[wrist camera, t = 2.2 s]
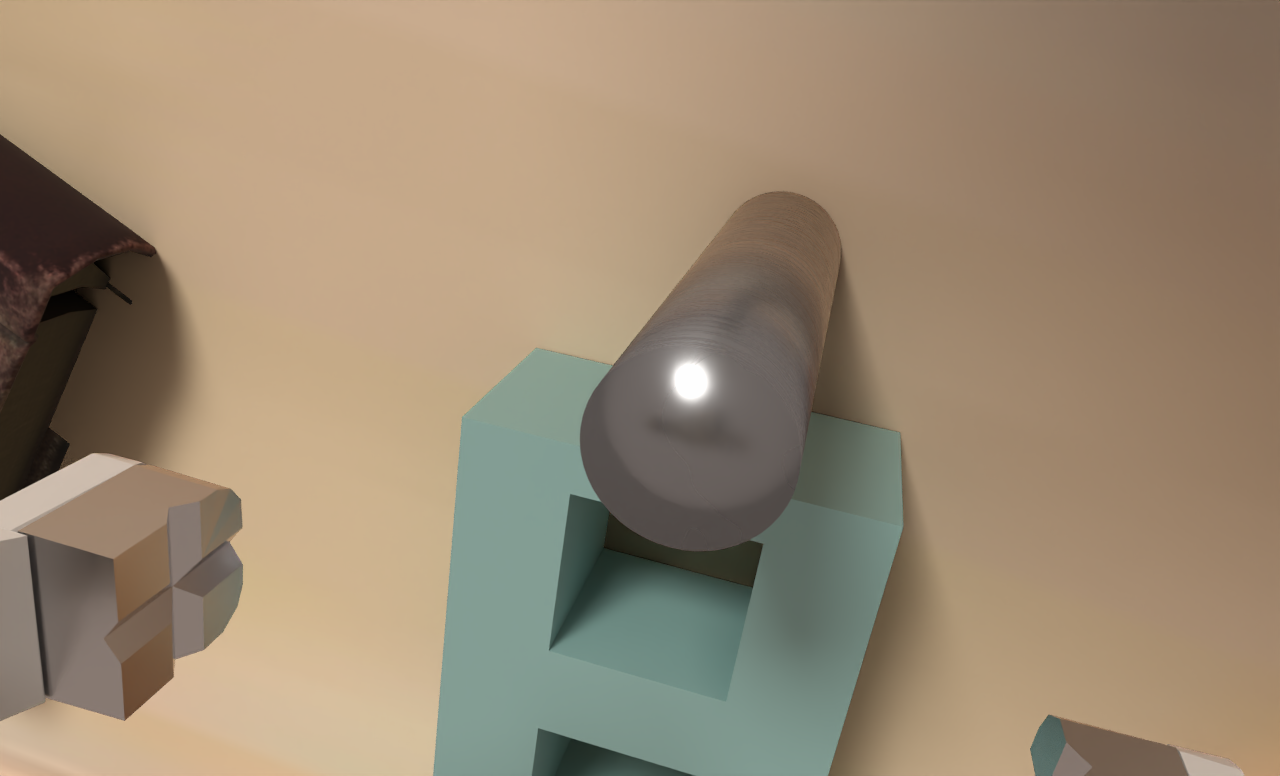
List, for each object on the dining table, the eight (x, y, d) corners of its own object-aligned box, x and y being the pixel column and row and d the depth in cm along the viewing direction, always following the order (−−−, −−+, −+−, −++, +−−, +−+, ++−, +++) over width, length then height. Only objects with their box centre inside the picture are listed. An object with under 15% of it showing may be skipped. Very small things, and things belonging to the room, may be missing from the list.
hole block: (536, 347, 26) (462, 417, 21) (900, 432, 24) (903, 526, 20) (493, 734, 31) (427, 854, 27) (787, 824, 30) (769, 968, 25)
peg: (732, 180, 23) (594, 324, 12) (854, 204, 23) (823, 375, 12) (710, 296, 24) (567, 520, 13) (825, 321, 24) (774, 575, 13)
